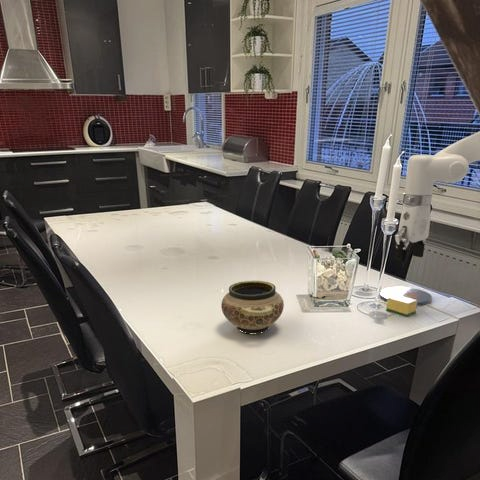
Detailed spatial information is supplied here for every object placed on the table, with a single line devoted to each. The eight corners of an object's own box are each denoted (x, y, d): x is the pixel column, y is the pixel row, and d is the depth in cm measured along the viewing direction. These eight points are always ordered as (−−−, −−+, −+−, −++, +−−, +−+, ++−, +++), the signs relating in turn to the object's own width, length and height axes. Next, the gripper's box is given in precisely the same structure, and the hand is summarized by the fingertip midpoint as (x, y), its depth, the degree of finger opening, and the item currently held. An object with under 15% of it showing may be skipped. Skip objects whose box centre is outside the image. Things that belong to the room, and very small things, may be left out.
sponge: (415, 313, 147) (417, 300, 146) (406, 317, 145) (408, 303, 143) (395, 307, 153) (396, 294, 151) (386, 310, 150) (387, 297, 148)
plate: (441, 298, 160) (441, 295, 160) (413, 309, 150) (413, 306, 150) (398, 287, 172) (398, 284, 172) (369, 296, 163) (369, 293, 162)
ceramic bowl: (226, 322, 149) (213, 280, 143) (279, 306, 149) (268, 263, 144) (235, 356, 127) (220, 307, 121) (297, 338, 127) (285, 288, 121)
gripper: (413, 205, 125) (405, 266, 131) (444, 199, 136) (435, 256, 142) (388, 202, 130) (382, 261, 137) (420, 196, 141) (412, 252, 147)
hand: (409, 259), depth 139 cm, fingers open, 9 cm apart
